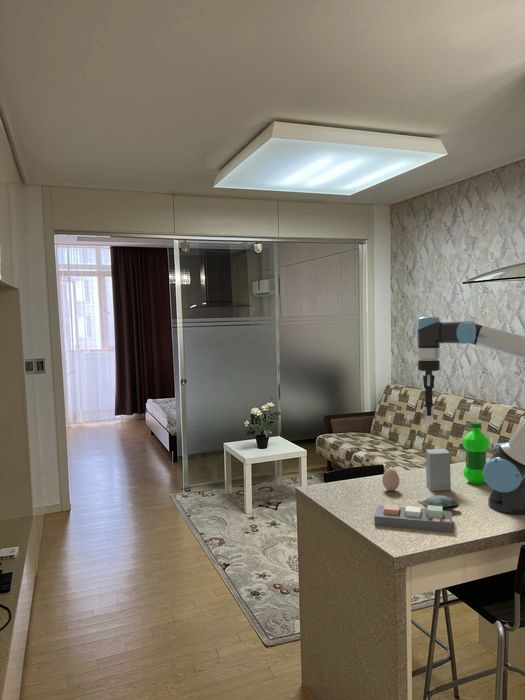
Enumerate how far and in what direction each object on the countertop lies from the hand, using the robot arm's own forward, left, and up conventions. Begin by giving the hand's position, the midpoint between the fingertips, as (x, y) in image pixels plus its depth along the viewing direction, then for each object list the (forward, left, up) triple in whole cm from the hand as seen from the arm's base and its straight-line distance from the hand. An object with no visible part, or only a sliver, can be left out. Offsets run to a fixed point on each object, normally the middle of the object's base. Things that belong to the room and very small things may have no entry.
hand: (429, 424), depth 193 cm
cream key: (+5, +18, -30) cm, 35 cm away
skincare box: (-3, -21, -31) cm, 37 cm away
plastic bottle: (-18, -34, -31) cm, 49 cm away
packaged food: (-3, +3, -31) cm, 31 cm away
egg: (+15, -14, -31) cm, 37 cm away
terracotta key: (+12, +18, -30) cm, 37 cm away
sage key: (-2, +18, -29) cm, 34 cm away
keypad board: (+5, +18, -30) cm, 36 cm away
